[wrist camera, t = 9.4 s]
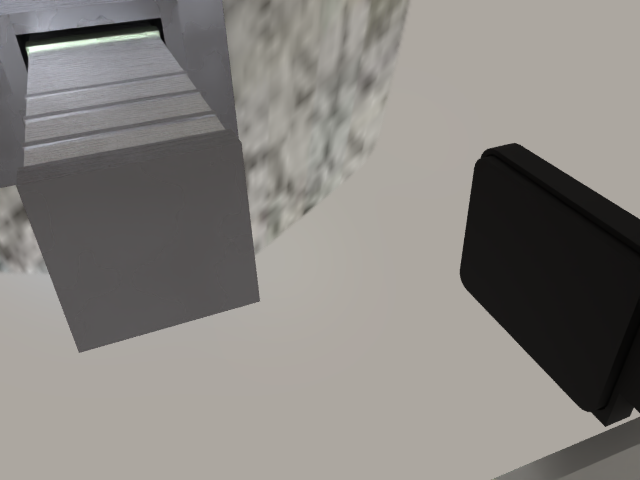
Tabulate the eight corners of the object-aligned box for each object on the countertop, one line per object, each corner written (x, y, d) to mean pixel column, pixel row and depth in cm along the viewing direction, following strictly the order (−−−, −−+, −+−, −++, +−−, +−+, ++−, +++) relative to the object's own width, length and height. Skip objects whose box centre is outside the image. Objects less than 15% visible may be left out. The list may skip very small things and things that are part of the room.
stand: (198, -130, 32) (263, -128, 23) (231, 131, 41) (287, 207, 32) (-126, -117, 28) (-209, -108, 18) (-9, 176, 37) (-25, 281, 27)
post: (143, 9, 27) (241, 142, 14) (163, 112, 30) (259, 301, 17) (27, 22, 26) (16, 186, 13) (60, 129, 29) (79, 352, 16)
